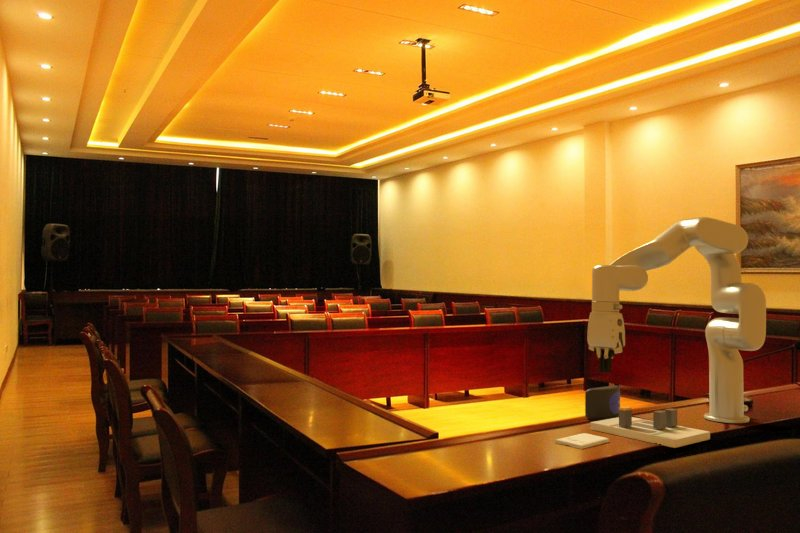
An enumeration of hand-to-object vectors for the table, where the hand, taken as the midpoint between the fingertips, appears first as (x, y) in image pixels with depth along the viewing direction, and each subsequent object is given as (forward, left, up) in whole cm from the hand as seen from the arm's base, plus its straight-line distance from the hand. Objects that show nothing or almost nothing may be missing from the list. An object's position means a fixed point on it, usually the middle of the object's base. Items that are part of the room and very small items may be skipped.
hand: (605, 372), depth 185 cm
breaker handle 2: (-11, +14, -14) cm, 23 cm away
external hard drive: (+18, +6, -17) cm, 25 cm away
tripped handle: (0, +7, -14) cm, 16 cm away
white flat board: (-6, +10, -17) cm, 20 cm away
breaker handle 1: (-6, +14, -14) cm, 20 cm away
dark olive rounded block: (-16, -12, -17) cm, 26 cm away
